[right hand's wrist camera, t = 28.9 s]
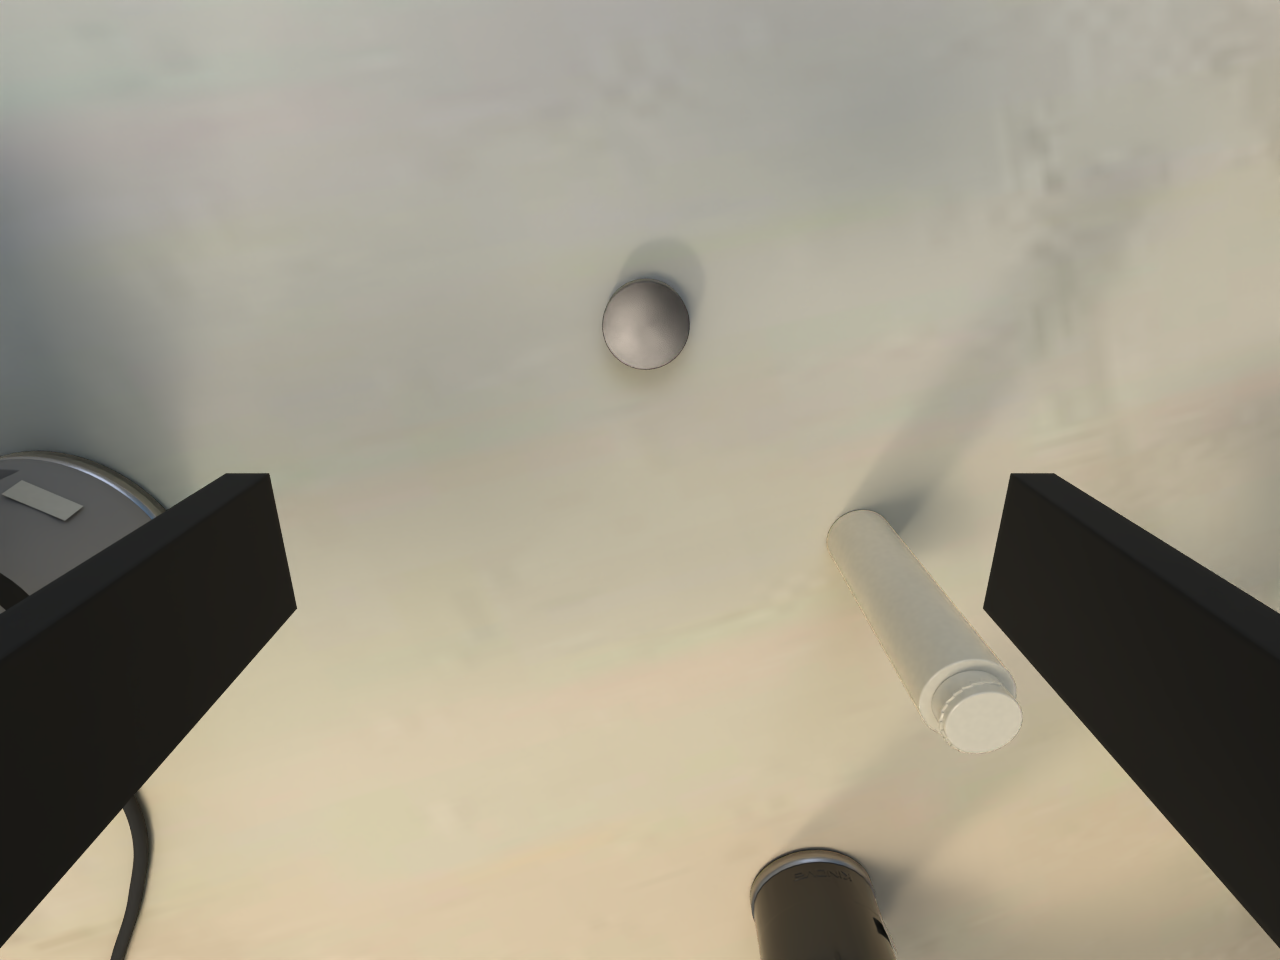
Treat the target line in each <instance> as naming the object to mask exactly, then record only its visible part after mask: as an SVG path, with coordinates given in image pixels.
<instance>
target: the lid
mask: <svg viewBox="0 0 1280 960" xmlns="http://www.w3.org/2000/svg"><path fill="white" fill-rule="evenodd" d="M689 325H690V323H689V316H688V312H687V309H686V307H685V305H684V303H683V301H682V299H681V297H680V296H679V295H678V293H677V292H676V291H675V290H674V289H673V288H671V287H670V286H669V285H667V284H665V283H663V282H661V281H658V280H654V279H637V280H634V281H631V282H628V283H626V284H625V285H623V286H621V287H620V288H619V289H618V290H617V291H616V292H615V293H614V294H613V295H612V297H611V298H610V300H609V302H608V304H607V306H606V309H605V312H604V316H603V323H602V329H603V336H604V339H605V342H606V344H607V346H608V348H609V350H610V351H611V352H612V354H613V355H614V356H615V357H616V358H617V359H618V360H619V361H621V362H622V363H624V364H626V365H628V366H630V367H633V368H637V369H643V370H646V369H655V368H659V367H662V366H664V365H666V364H668V363H669V362H671V361H672V360H673V359H675V358H676V357H677V356H678V355H679V353H680V352H681V351H682V349H683V348H684V346H685V344H686V341H687V339H688V335H689Z"/></svg>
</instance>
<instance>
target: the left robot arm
mask: <svg viewBox="0 0 1280 960" xmlns="http://www.w3.org/2000/svg"><path fill="white" fill-rule="evenodd" d="M750 903H751V909H752V915H753V919H754V921H755V925H756V931H757V937H758V944H759V951H760V957H761V960H896V957H895V955H894V952H893V949H892V946H891V943H892V944H893V946H894V948H895V945H894V942H893V939H892V937H891V935H890V933H889V931H888V929H887V928H886V926H885V924H884V922H883V919H882V916H881V913H880V910H879V908H878V905H877V902H876V897H875V892H874V889H873V886H872V883H871V880H870V878H869V875H868V874H867V872H866V871H865V869H864V868H863V867H862V866H861V865H860V864H859V863H857V862H856V861H855V860H853V859H851V858H850V857H848V856H845V855H843V854H840V853H836V852H832V851H826V850H807V851H800V852H796V853H792V854H789V855H786V856H784V857H781V858H779V859H777V860H776V861H774V862H772V863H771V864H769V865H768V866H767V867H766V868H764V869H763V870H762V871H761V873H760V874H759V875H758V876H757V878H756V879H755V881H754V883H753V885H752V888H751V892H750ZM889 939H890V940H889ZM890 941H891V943H890ZM895 950H896V948H895ZM896 952H897V951H896ZM897 954H898V953H897Z"/></svg>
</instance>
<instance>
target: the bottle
mask: <svg viewBox="0 0 1280 960" xmlns="http://www.w3.org/2000/svg"><path fill="white" fill-rule="evenodd" d="M827 548H828V551H829V554H830V555H831V557H832V559H833V561H834V563H835V564H836V566H837V568H838V570H839V571H840V573H841V575H842V577H843V579H844V580H845V582H846V584H847V586H848V588H849V589H850V591H851V593H852V595H853V596H854V598H855V600H856V602H857V604H858V605H859V607H860V609H861V611H862V612H863V614H864V616H865V618H866V620H867V621H868V623H869V625H870V627H871V629H872V630H873V632H874V634H875V636H876V637H877V639H878V641H879V643H880V645H881V646H882V648H883V650H884V652H885V653H886V655H887V657H888V659H889V661H890V662H891V664H892V666H893V668H894V670H895V671H896V673H897V675H898V677H899V678H900V680H901V682H902V684H903V686H904V687H905V689H906V691H907V693H908V694H909V696H910V698H911V700H912V702H913V703H914V705H915V707H916V709H917V711H918V712H919V714H920V716H921V718H922V719H923V721H924V722H925V724H926V725H927V726H928V727H929V728H930V729H932V730H933V731H935V732H937V733H939V734H941V735H942V736H943V738H944V740H945V741H946V742H947V743H948V744H949V745H950V746H951V747H953V748H955V749H957V750H958V751H959V752H963V753H975V754H980V753H987V752H991V751H994V750H997V749H999V748H1001V747H1003V746H1005V745H1006V744H1008V743H1009V742H1010V741H1011V740H1012V739H1013V738H1014V737H1015V736H1016V734H1017V733H1018V731H1019V730H1020V727H1021V725H1022V718H1023V717H1022V710H1021V707H1020V705H1019V704H1018V702H1017V701H1016V700H1015V699H1016V685H1015V681H1014V679H1013V677H1012V675H1011V674H1010V672H1009V671H1008V670H1007V669H1006V667H1005V666H1004V665H1003V664H1002V662H1001V661H1000V660H999V659H998V658H997V656H996V655H995V654H994V653H993V651H992V650H991V649H990V648H989V646H988V645H987V644H986V643H985V641H984V640H983V639H982V638H981V637H980V635H979V634H978V633H977V632H976V630H975V629H974V628H973V627H972V625H971V624H970V623H969V622H968V620H967V619H966V618H965V617H964V616H963V614H962V613H961V612H960V611H959V609H958V608H957V607H956V606H955V604H954V603H953V602H952V601H951V599H950V598H949V597H948V596H947V595H946V593H945V592H944V591H943V590H942V588H941V587H940V586H939V585H938V583H937V582H936V581H935V580H934V578H933V577H932V576H931V575H930V574H929V572H928V571H927V570H926V569H925V567H924V566H923V565H922V564H921V562H920V561H919V560H918V559H917V557H916V556H915V555H914V554H913V553H912V551H911V550H910V549H909V548H908V546H907V545H906V544H905V543H904V541H903V540H902V539H901V538H900V536H899V535H898V534H897V533H896V532H895V530H894V529H893V528H892V527H891V525H890V524H889V523H888V522H887V520H886V519H885V518H884V517H883V516H881V515H880V514H878V513H876V512H873V511H869V510H857V511H852V512H849V513H847V514H845V515H843V516H842V517H840V518H839V519H838V520H837V521H836V522H835V523H834V524H833V525H832V527H831V529H830V531H829V533H828V537H827Z"/></svg>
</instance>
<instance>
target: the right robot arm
mask: <svg viewBox="0 0 1280 960" xmlns="http://www.w3.org/2000/svg"><path fill="white" fill-rule="evenodd" d="M296 609H297V606H296V601H295V596H294V591H293V587H292V582H291V577H290V572H289V567H288V562H287V557H286V553H285V548H284V543H283V538H282V533H281V528H280V523H279V518H278V514H277V509H276V504H275V499H274V494H273V489H272V484H271V479H270V475H269V473H226V474H224V475H223V476H221V477H219V478H218V479H216V480H215V481H213V482H211V483H210V484H208V485H207V486H205V487H203V488H202V489H200V490H199V491H197V492H195V493H194V494H192V495H191V496H189V497H187V498H186V499H184V500H182V501H181V502H179V503H178V504H176V505H174V506H173V507H171V508H170V509H168V510H165V509H164V508H163V507H162V506H161V505H160V504H159V503H158V502H157V501H156V500H155V499H154V498H153V497H152V496H151V495H149V494H148V493H147V492H146V491H144V490H143V489H142V488H141V487H139V486H138V485H137V484H135V483H134V482H132V481H131V480H129V479H128V478H126V477H124V476H123V475H121V474H119V473H117V472H116V471H114V470H112V469H110V468H107V467H105V466H103V465H101V464H98V463H96V462H93V461H91V460H88V459H84V458H81V457H78V456H74V455H69V454H65V453H58V452H50V451H25V452H18V453H12V454H8V455H4V456H1V457H0V948H1V947H2V946H3V944H4V943H5V942H6V941H7V940H8V939H9V938H10V936H11V935H12V934H13V933H14V932H15V931H16V930H17V928H18V927H19V926H20V925H21V924H22V923H23V922H24V920H25V919H26V918H27V917H28V916H29V915H30V914H31V912H32V911H33V910H34V909H35V908H36V907H37V906H38V904H39V903H40V902H41V901H42V900H43V899H44V898H45V896H46V895H47V894H48V893H49V892H50V891H51V890H52V888H53V887H54V886H55V885H56V884H57V883H58V882H59V880H60V879H61V878H62V877H63V876H64V875H65V874H66V872H67V871H68V870H69V869H70V868H71V867H72V865H73V864H74V863H75V862H76V861H77V860H78V859H79V857H80V856H81V855H82V854H83V853H84V852H85V851H86V849H87V848H88V847H89V846H90V845H91V844H92V843H93V841H94V840H95V839H96V838H97V837H98V836H99V835H100V833H101V832H102V831H103V830H104V829H105V828H106V827H107V825H108V824H109V823H110V822H111V821H112V820H113V819H114V817H115V816H116V815H117V814H118V813H119V812H120V811H121V809H122V808H123V810H124V812H125V814H126V817H127V819H128V822H129V826H130V829H131V834H132V839H133V848H134V861H133V870H132V877H131V883H130V889H129V896H128V902H127V907H126V911H125V915H124V919H123V922H122V925H121V928H120V931H119V934H118V937H117V940H116V943H115V946H114V949H113V953H112V956H111V960H123V959H124V955H125V952H126V949H127V946H128V943H129V940H130V937H131V934H132V931H133V928H134V925H135V922H136V919H137V916H138V913H139V909H140V905H141V900H142V895H143V889H144V883H145V877H146V871H147V865H148V854H149V845H148V835H147V829H146V824H145V820H144V817H143V814H142V811H141V809H140V806H139V804H138V802H137V800H136V798H135V796H134V795H135V793H136V792H137V791H138V790H139V789H140V788H141V786H142V785H143V784H144V783H145V782H146V781H147V780H148V778H149V777H150V776H151V775H152V774H153V773H154V772H155V770H156V769H157V768H158V767H159V766H160V765H161V764H162V762H163V761H164V760H165V759H166V758H167V757H168V756H169V754H170V753H171V752H172V751H173V750H174V749H175V748H176V746H177V745H178V744H179V743H180V742H181V741H182V740H183V738H184V737H185V736H186V735H187V734H188V733H189V732H190V730H191V729H192V728H193V727H194V726H195V725H196V724H197V722H198V721H199V720H200V719H201V718H202V717H203V716H204V714H205V713H206V712H207V711H208V710H209V709H210V708H211V706H212V705H213V704H214V703H215V702H216V701H217V699H218V698H219V697H220V696H221V695H222V694H223V693H224V691H225V690H226V689H227V688H228V687H229V686H230V685H231V683H232V682H233V681H234V680H235V679H236V678H237V677H238V675H239V674H240V673H241V672H242V671H243V670H244V669H245V667H246V666H247V665H248V664H249V663H250V662H251V661H252V659H253V658H254V657H255V656H256V655H257V654H258V653H259V651H260V650H261V649H262V648H263V647H264V646H265V645H266V643H267V642H268V641H269V640H270V639H271V638H272V637H273V635H274V634H275V633H276V632H277V631H278V630H279V629H280V627H281V626H282V625H283V624H284V623H285V622H286V620H287V619H288V618H289V617H290V616H291V615H292V614H293V612H294V611H295V610H296ZM983 609H984V610H985V611H986V612H987V614H988V615H989V616H990V617H991V618H992V619H993V621H994V622H995V623H996V624H997V625H998V626H999V627H1000V629H1001V630H1002V631H1003V632H1004V633H1005V634H1006V635H1007V637H1008V638H1009V639H1010V640H1011V641H1012V642H1013V643H1014V645H1015V646H1016V647H1017V648H1018V649H1019V650H1020V651H1021V653H1022V654H1023V655H1024V656H1025V657H1026V658H1027V659H1028V661H1029V662H1030V663H1031V664H1032V665H1033V666H1034V667H1035V669H1036V670H1037V671H1038V672H1039V673H1040V674H1041V675H1042V677H1043V678H1044V679H1045V680H1046V681H1047V682H1048V683H1049V685H1050V686H1051V687H1052V688H1053V689H1054V690H1055V691H1056V693H1057V694H1058V695H1059V696H1060V697H1061V698H1062V699H1063V701H1064V702H1065V703H1066V704H1067V705H1068V706H1069V708H1070V709H1071V710H1072V711H1073V712H1074V713H1075V714H1076V716H1077V717H1078V718H1079V719H1080V720H1081V721H1082V722H1083V724H1084V725H1085V726H1086V727H1087V728H1088V729H1089V730H1090V732H1091V733H1092V734H1093V735H1094V736H1095V737H1096V738H1097V740H1098V741H1099V742H1100V743H1101V744H1102V745H1103V746H1104V748H1105V749H1106V750H1107V751H1108V752H1109V753H1110V754H1111V756H1112V757H1113V758H1114V759H1115V760H1116V761H1117V762H1118V764H1119V765H1120V766H1121V767H1122V768H1123V769H1124V770H1125V772H1126V773H1127V774H1128V775H1129V776H1130V777H1131V778H1132V780H1133V781H1134V782H1135V783H1136V784H1137V785H1138V786H1139V788H1140V789H1141V790H1142V791H1143V792H1144V793H1145V795H1146V796H1147V797H1148V798H1149V799H1150V800H1151V801H1152V803H1153V804H1154V805H1155V806H1156V807H1157V808H1158V809H1159V811H1160V812H1161V813H1162V814H1163V815H1164V816H1165V817H1166V819H1167V820H1168V821H1169V822H1170V823H1171V824H1172V825H1173V827H1174V828H1175V829H1176V830H1177V831H1178V832H1179V833H1180V835H1181V836H1182V837H1183V838H1184V839H1185V840H1186V841H1187V843H1188V844H1189V845H1190V846H1191V847H1192V848H1193V849H1194V851H1195V852H1196V853H1197V854H1198V855H1199V856H1200V857H1201V859H1202V860H1203V861H1204V862H1205V863H1206V864H1207V865H1208V867H1209V868H1210V869H1211V870H1212V871H1213V872H1214V874H1215V875H1216V876H1217V877H1218V878H1219V879H1220V880H1221V882H1222V883H1223V884H1224V885H1225V886H1226V887H1227V888H1228V890H1229V891H1230V892H1231V893H1232V894H1233V895H1234V896H1235V898H1236V899H1237V900H1238V901H1239V902H1240V903H1241V904H1242V906H1243V907H1244V908H1245V909H1246V910H1247V911H1248V912H1249V914H1250V915H1251V916H1252V917H1253V918H1254V919H1255V920H1256V922H1257V923H1258V924H1259V925H1260V926H1261V927H1262V928H1263V930H1264V931H1265V932H1266V933H1267V934H1268V935H1269V936H1270V938H1271V939H1272V940H1273V941H1274V942H1275V943H1276V944H1277V946H1278V947H1279V948H1280V614H1279V613H1277V612H1276V611H1274V610H1273V609H1271V608H1269V607H1268V606H1266V605H1265V604H1263V603H1261V602H1260V601H1258V600H1257V599H1255V598H1253V597H1252V596H1250V595H1249V594H1247V593H1245V592H1244V591H1242V590H1241V589H1239V588H1237V587H1236V586H1234V585H1232V584H1231V583H1229V582H1228V581H1226V580H1224V579H1223V578H1221V577H1220V576H1218V575H1216V574H1215V573H1213V572H1212V571H1210V570H1208V569H1207V568H1205V567H1204V566H1202V565H1200V564H1199V563H1197V562H1196V561H1194V560H1192V559H1191V558H1189V557H1188V556H1186V555H1184V554H1183V553H1181V552H1179V551H1178V550H1176V549H1175V548H1173V547H1171V546H1170V545H1168V544H1167V543H1165V542H1163V541H1162V540H1160V539H1159V538H1157V537H1155V536H1154V535H1152V534H1151V533H1149V532H1147V531H1146V530H1144V529H1143V528H1141V527H1139V526H1138V525H1136V524H1134V523H1133V522H1131V521H1130V520H1128V519H1126V518H1125V517H1123V516H1122V515H1120V514H1118V513H1117V512H1115V511H1114V510H1112V509H1110V508H1109V507H1107V506H1106V505H1104V504H1102V503H1101V502H1099V501H1098V500H1096V499H1094V498H1093V497H1091V496H1089V495H1088V494H1086V493H1085V492H1083V491H1081V490H1080V489H1078V488H1077V487H1075V486H1073V485H1072V484H1070V483H1069V482H1067V481H1065V480H1064V479H1062V478H1061V477H1059V476H1057V475H1056V474H1054V473H1011V475H1010V479H1009V484H1008V489H1007V494H1006V499H1005V504H1004V509H1003V514H1002V518H1001V523H1000V528H999V533H998V538H997V543H996V548H995V553H994V557H993V562H992V567H991V572H990V577H989V582H988V587H987V591H986V596H985V601H984V606H983Z"/></svg>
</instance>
